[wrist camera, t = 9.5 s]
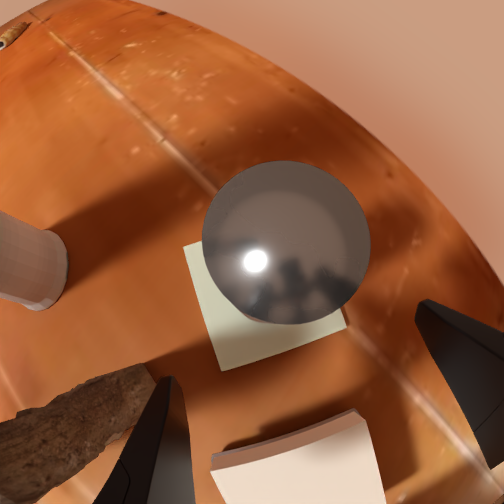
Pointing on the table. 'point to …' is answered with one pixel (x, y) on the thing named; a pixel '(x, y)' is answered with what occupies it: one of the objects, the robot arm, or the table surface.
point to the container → (31, 264)
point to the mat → (247, 322)
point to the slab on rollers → (304, 466)
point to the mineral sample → (68, 432)
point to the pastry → (12, 34)
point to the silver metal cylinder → (286, 243)
